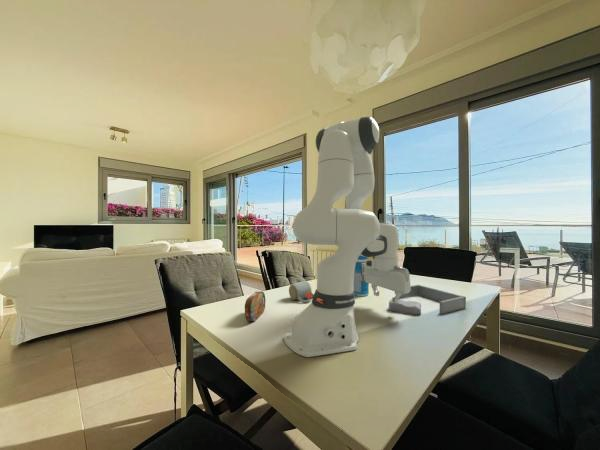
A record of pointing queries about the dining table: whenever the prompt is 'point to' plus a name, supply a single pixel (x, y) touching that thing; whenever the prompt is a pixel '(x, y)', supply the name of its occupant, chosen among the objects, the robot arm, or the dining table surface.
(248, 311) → the tin
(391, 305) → the stone block
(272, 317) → the dining table surface
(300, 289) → the ceramic mug
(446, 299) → the box
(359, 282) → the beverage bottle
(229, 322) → the dining table surface
